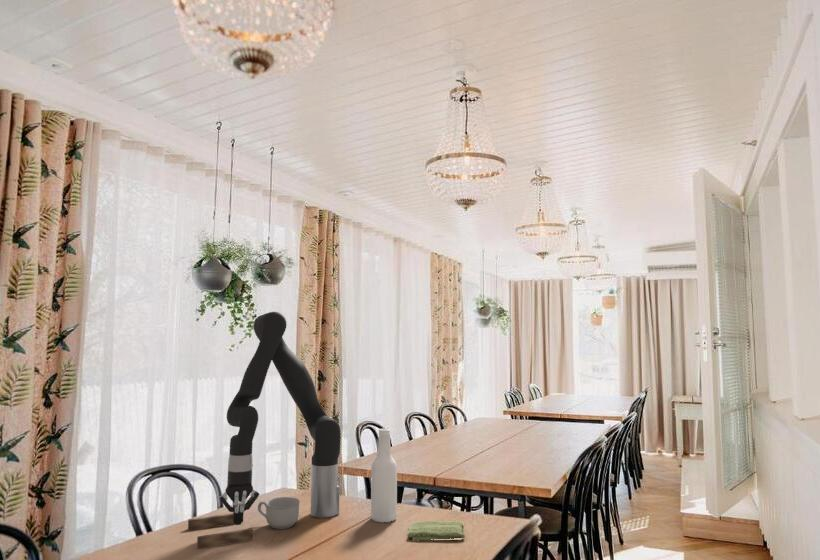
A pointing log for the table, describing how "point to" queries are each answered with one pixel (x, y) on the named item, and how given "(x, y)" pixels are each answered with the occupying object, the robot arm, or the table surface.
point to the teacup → (280, 512)
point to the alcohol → (384, 481)
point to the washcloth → (436, 530)
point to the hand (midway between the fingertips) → (237, 524)
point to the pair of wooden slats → (219, 537)
